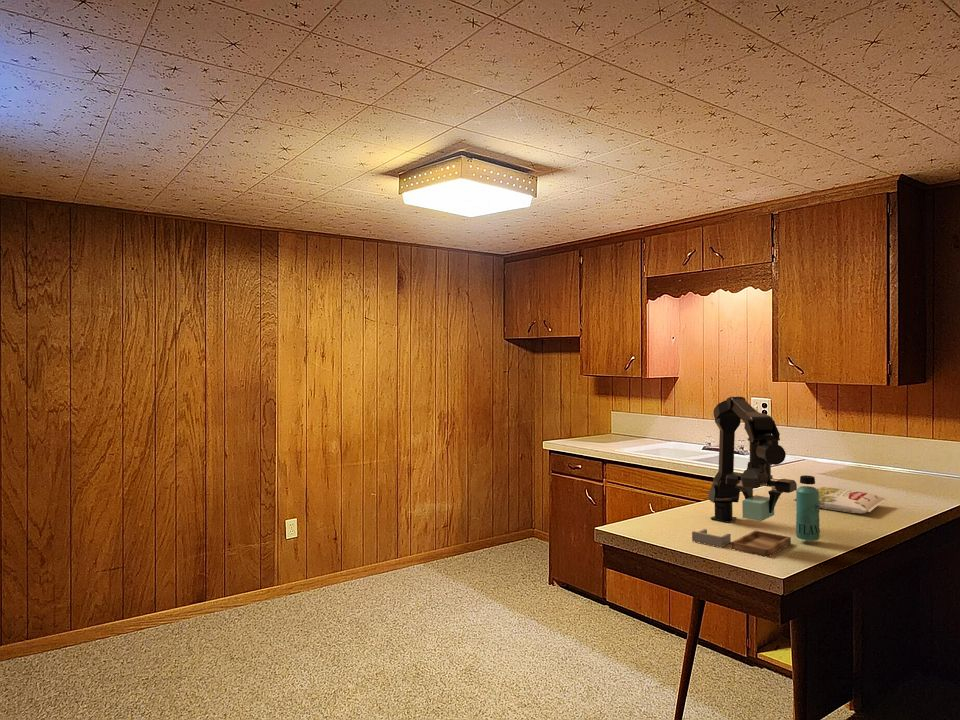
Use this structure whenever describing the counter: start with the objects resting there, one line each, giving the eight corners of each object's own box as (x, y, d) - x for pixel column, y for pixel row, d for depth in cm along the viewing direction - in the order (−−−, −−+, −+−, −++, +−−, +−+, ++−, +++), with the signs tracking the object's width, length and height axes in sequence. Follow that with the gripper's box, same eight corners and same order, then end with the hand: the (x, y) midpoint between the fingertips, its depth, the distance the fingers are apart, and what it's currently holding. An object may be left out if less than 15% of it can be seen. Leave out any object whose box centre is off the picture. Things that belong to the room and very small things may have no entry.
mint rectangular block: (757, 510, 197) (757, 494, 197) (776, 514, 193) (775, 497, 193) (742, 517, 190) (742, 500, 190) (761, 521, 186) (761, 503, 186)
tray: (755, 536, 202) (755, 530, 202) (790, 543, 194) (790, 537, 194) (730, 549, 190) (730, 542, 190) (767, 557, 183) (767, 550, 183)
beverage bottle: (794, 543, 194) (794, 477, 194) (797, 538, 200) (796, 473, 199) (819, 547, 191) (818, 479, 190) (821, 541, 196) (820, 474, 196)
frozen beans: (813, 481, 252) (887, 490, 234) (813, 496, 252) (887, 506, 234) (792, 492, 237) (869, 503, 219) (792, 508, 237) (870, 520, 219)
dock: (703, 536, 203) (703, 527, 203) (732, 542, 196) (731, 532, 196) (692, 541, 198) (692, 531, 198) (721, 547, 192) (721, 537, 192)
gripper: (716, 458, 193) (717, 511, 193) (781, 466, 179) (782, 522, 180) (733, 453, 201) (734, 504, 201) (797, 460, 187) (797, 514, 187)
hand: (760, 511), depth 192 cm, fingers closed on mint rectangular block, 5 cm apart
